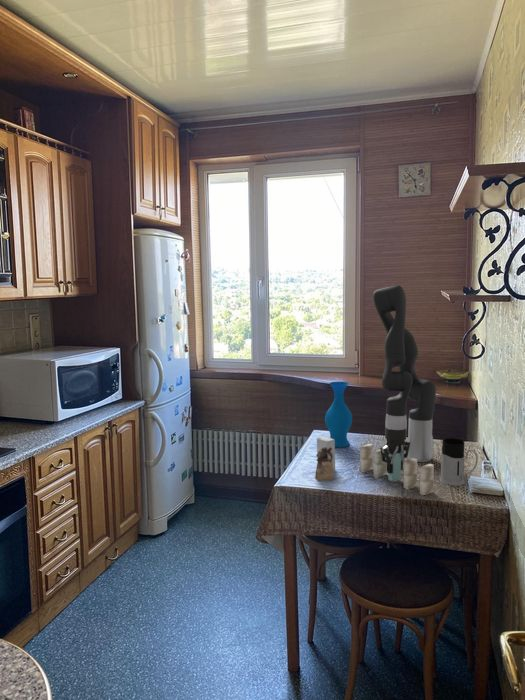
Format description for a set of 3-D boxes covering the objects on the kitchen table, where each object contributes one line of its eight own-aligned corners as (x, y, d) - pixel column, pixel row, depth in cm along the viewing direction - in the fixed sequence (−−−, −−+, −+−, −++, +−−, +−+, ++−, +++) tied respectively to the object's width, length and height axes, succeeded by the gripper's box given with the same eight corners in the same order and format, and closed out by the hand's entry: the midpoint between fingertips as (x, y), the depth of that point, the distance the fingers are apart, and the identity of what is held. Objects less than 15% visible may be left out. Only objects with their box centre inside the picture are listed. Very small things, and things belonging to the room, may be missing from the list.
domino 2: (382, 473, 201) (383, 448, 199) (386, 474, 199) (386, 449, 198) (373, 476, 198) (374, 450, 196) (377, 477, 196) (377, 451, 195)
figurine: (319, 473, 202) (319, 442, 200) (336, 476, 198) (337, 445, 197) (312, 479, 196) (312, 448, 194) (330, 482, 192) (330, 450, 191)
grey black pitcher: (449, 474, 199) (450, 436, 197) (483, 486, 187) (485, 445, 185) (434, 479, 194) (435, 440, 192) (468, 492, 182) (470, 450, 180)
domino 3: (397, 476, 195) (398, 450, 194) (400, 478, 194) (401, 451, 192) (388, 479, 192) (389, 453, 191) (391, 481, 191) (392, 454, 189)
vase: (356, 442, 239) (356, 382, 235) (345, 450, 228) (346, 387, 224) (331, 439, 245) (331, 379, 241) (320, 446, 234) (320, 384, 230)
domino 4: (412, 485, 189) (413, 458, 188) (416, 486, 188) (417, 459, 187) (403, 488, 186) (404, 461, 185) (407, 489, 185) (408, 462, 184)
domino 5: (429, 491, 184) (429, 463, 182) (432, 492, 182) (433, 464, 181) (419, 494, 181) (420, 466, 179) (423, 496, 180) (424, 468, 178)
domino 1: (369, 468, 206) (369, 443, 205) (372, 469, 205) (372, 444, 204) (360, 471, 203) (360, 446, 202) (363, 472, 202) (363, 447, 201)
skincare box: (335, 469, 206) (335, 439, 204) (327, 471, 203) (327, 441, 201) (324, 465, 210) (324, 435, 209) (316, 467, 208) (316, 437, 206)
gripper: (400, 420, 197) (399, 464, 200) (374, 427, 189) (373, 472, 191) (417, 425, 191) (415, 470, 193) (390, 431, 183) (389, 479, 185)
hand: (394, 471), depth 192 cm, fingers closed on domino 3, 4 cm apart
